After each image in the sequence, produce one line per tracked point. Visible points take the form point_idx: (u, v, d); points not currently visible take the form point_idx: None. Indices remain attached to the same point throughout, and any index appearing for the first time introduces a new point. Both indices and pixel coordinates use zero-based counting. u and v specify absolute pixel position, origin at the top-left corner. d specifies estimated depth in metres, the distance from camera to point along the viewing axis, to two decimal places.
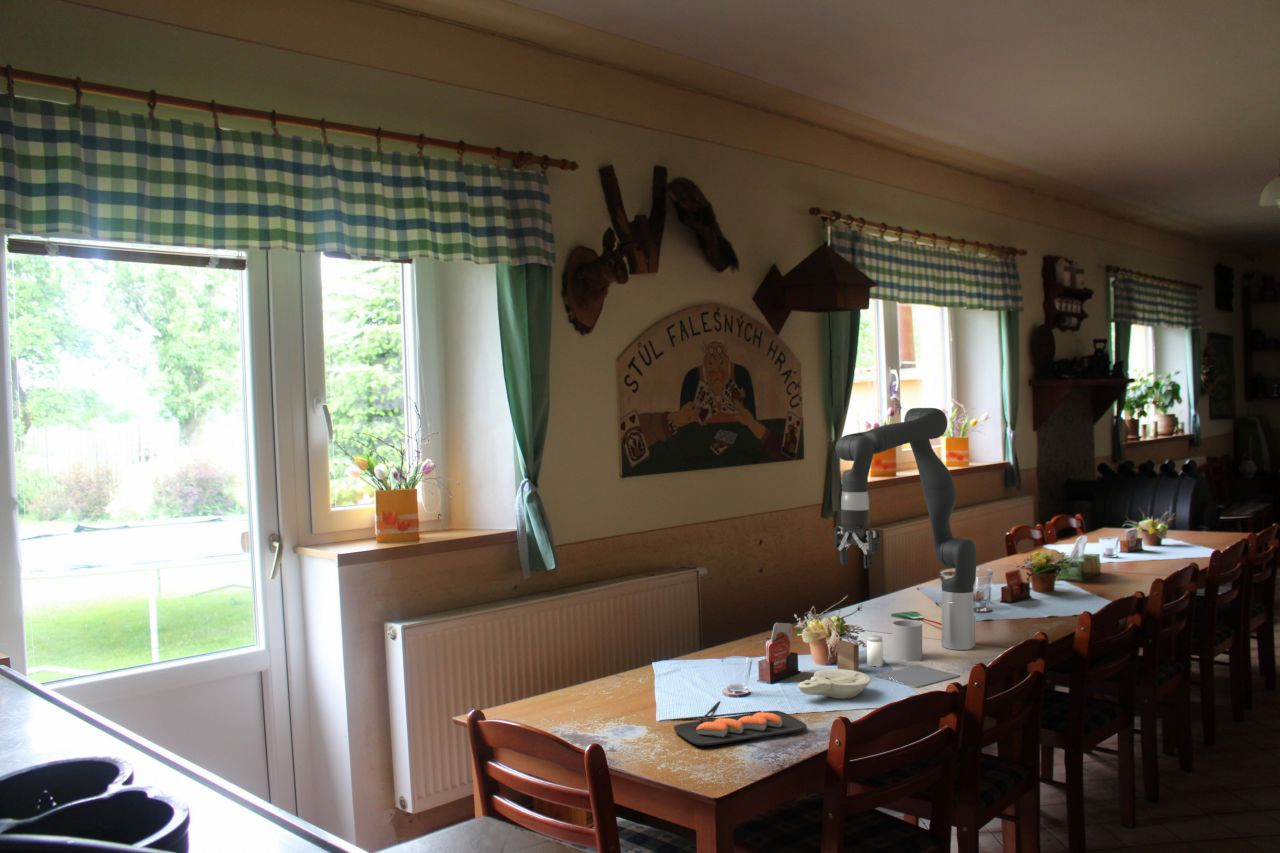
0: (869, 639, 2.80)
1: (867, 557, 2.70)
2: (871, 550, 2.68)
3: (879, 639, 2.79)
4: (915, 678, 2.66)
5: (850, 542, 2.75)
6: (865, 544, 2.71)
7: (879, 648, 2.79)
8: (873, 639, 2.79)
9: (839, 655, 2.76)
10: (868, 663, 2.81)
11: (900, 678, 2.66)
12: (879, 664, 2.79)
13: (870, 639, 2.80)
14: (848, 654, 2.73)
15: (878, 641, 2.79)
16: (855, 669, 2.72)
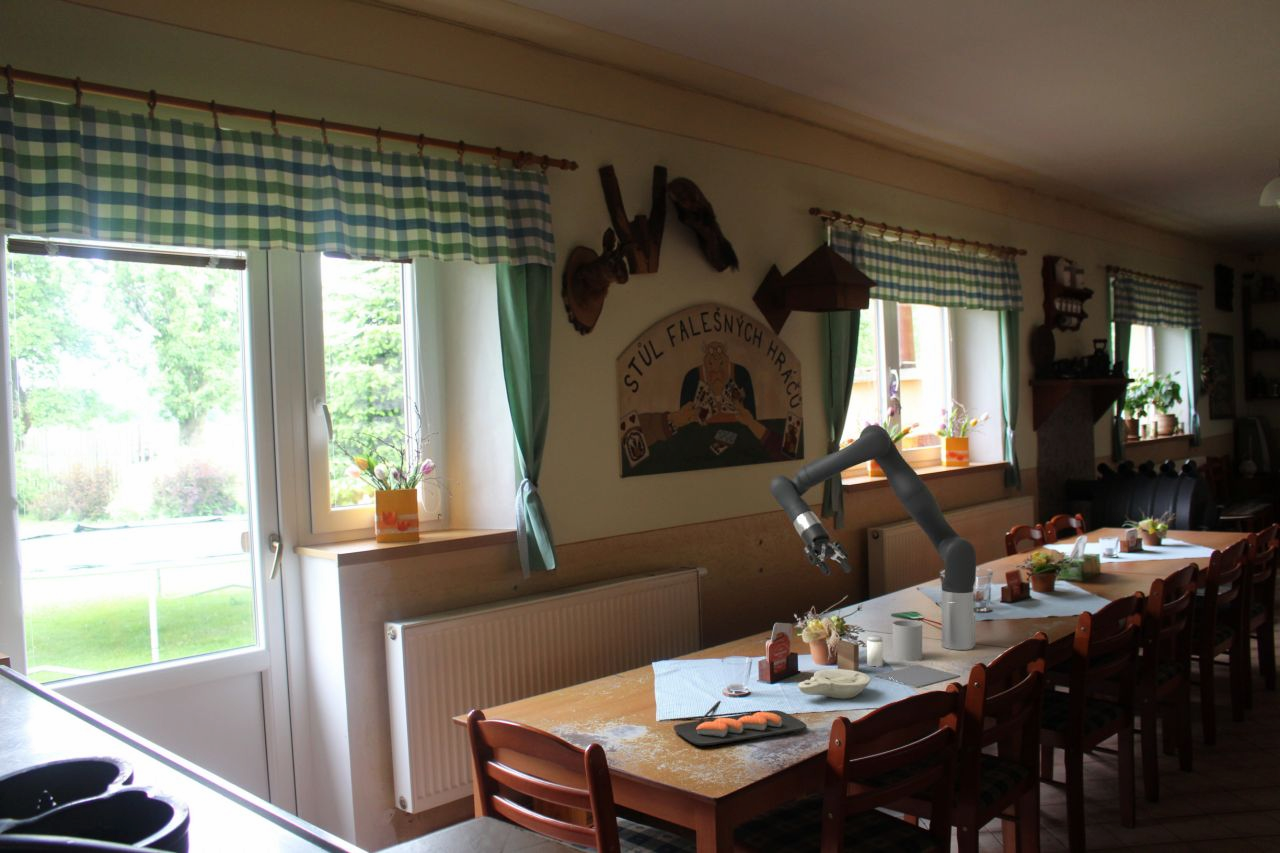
0: (869, 639, 2.80)
1: None
2: None
3: (879, 639, 2.79)
4: (915, 678, 2.66)
5: None
6: (818, 557, 2.93)
7: (879, 648, 2.79)
8: (873, 639, 2.79)
9: (839, 655, 2.76)
10: (868, 663, 2.81)
11: (900, 678, 2.66)
12: (879, 664, 2.79)
13: (870, 639, 2.80)
14: (848, 654, 2.74)
15: (878, 641, 2.79)
16: (855, 669, 2.72)
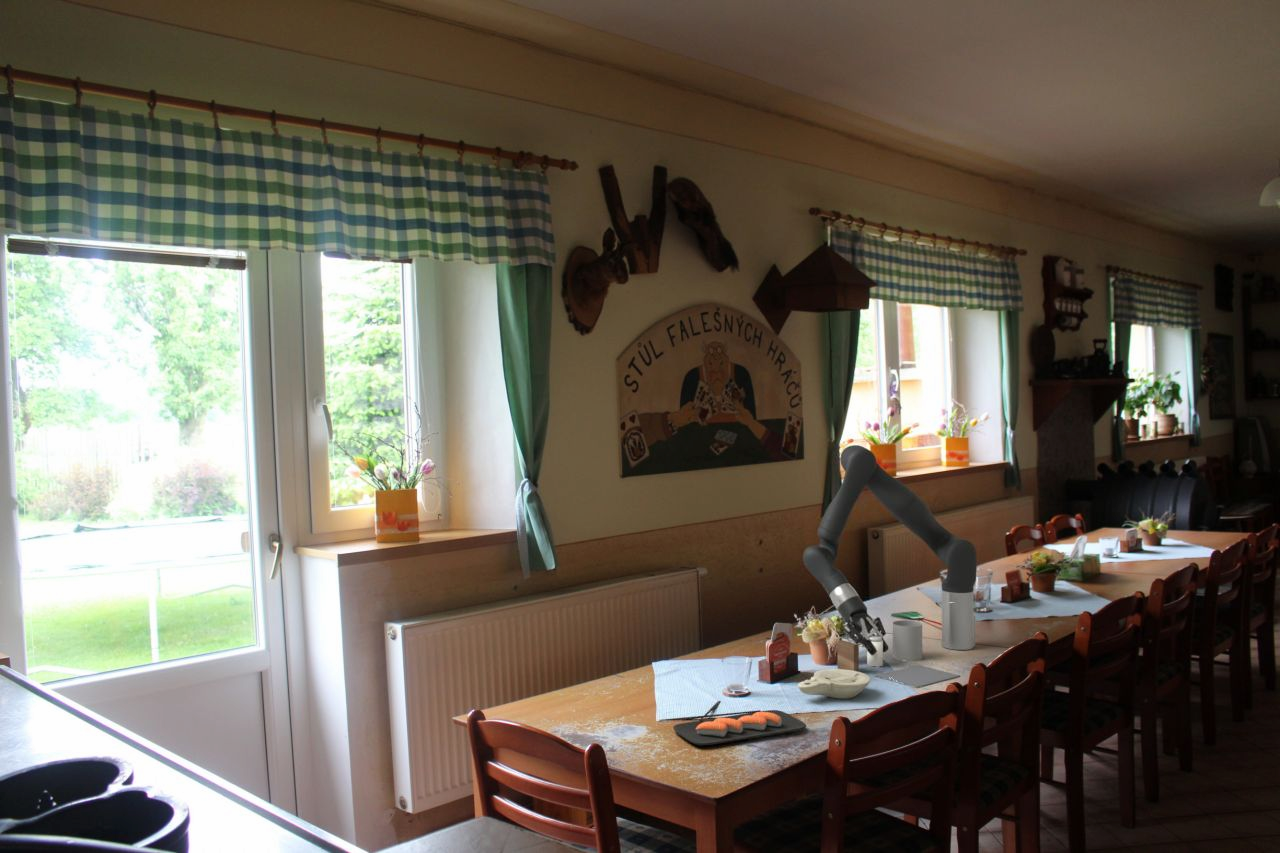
0: (869, 639, 2.80)
1: None
2: None
3: (879, 639, 2.79)
4: (915, 678, 2.66)
5: None
6: None
7: (879, 648, 2.79)
8: (873, 639, 2.79)
9: (839, 655, 2.76)
10: (868, 663, 2.81)
11: (900, 678, 2.66)
12: (879, 664, 2.79)
13: (870, 639, 2.80)
14: (848, 654, 2.73)
15: (878, 641, 2.79)
16: (855, 669, 2.72)
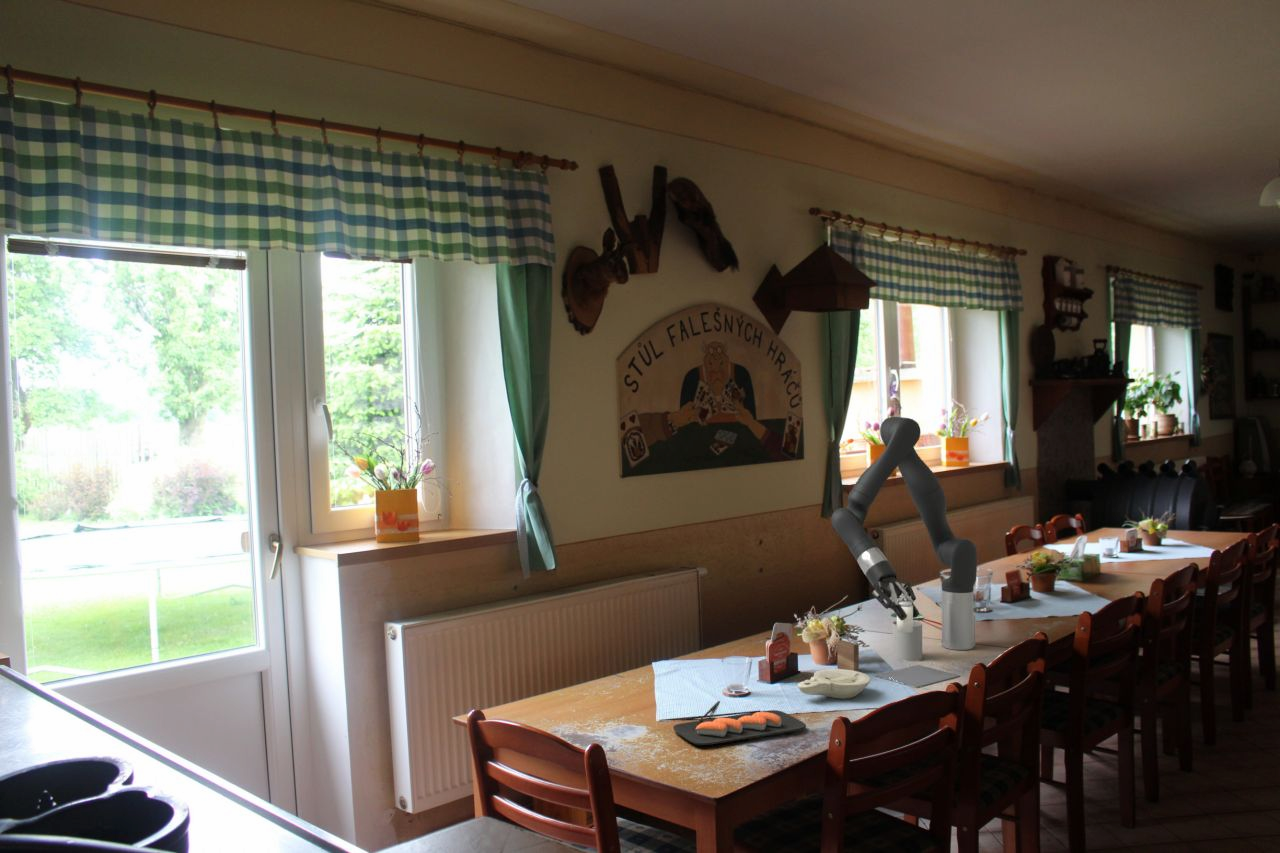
0: (899, 604, 2.71)
1: None
2: None
3: (909, 604, 2.70)
4: (915, 678, 2.66)
5: None
6: None
7: (909, 613, 2.70)
8: (903, 604, 2.70)
9: (839, 655, 2.76)
10: (898, 629, 2.72)
11: (900, 678, 2.66)
12: (909, 630, 2.70)
13: (900, 604, 2.71)
14: (848, 654, 2.74)
15: (908, 606, 2.70)
16: (855, 669, 2.72)
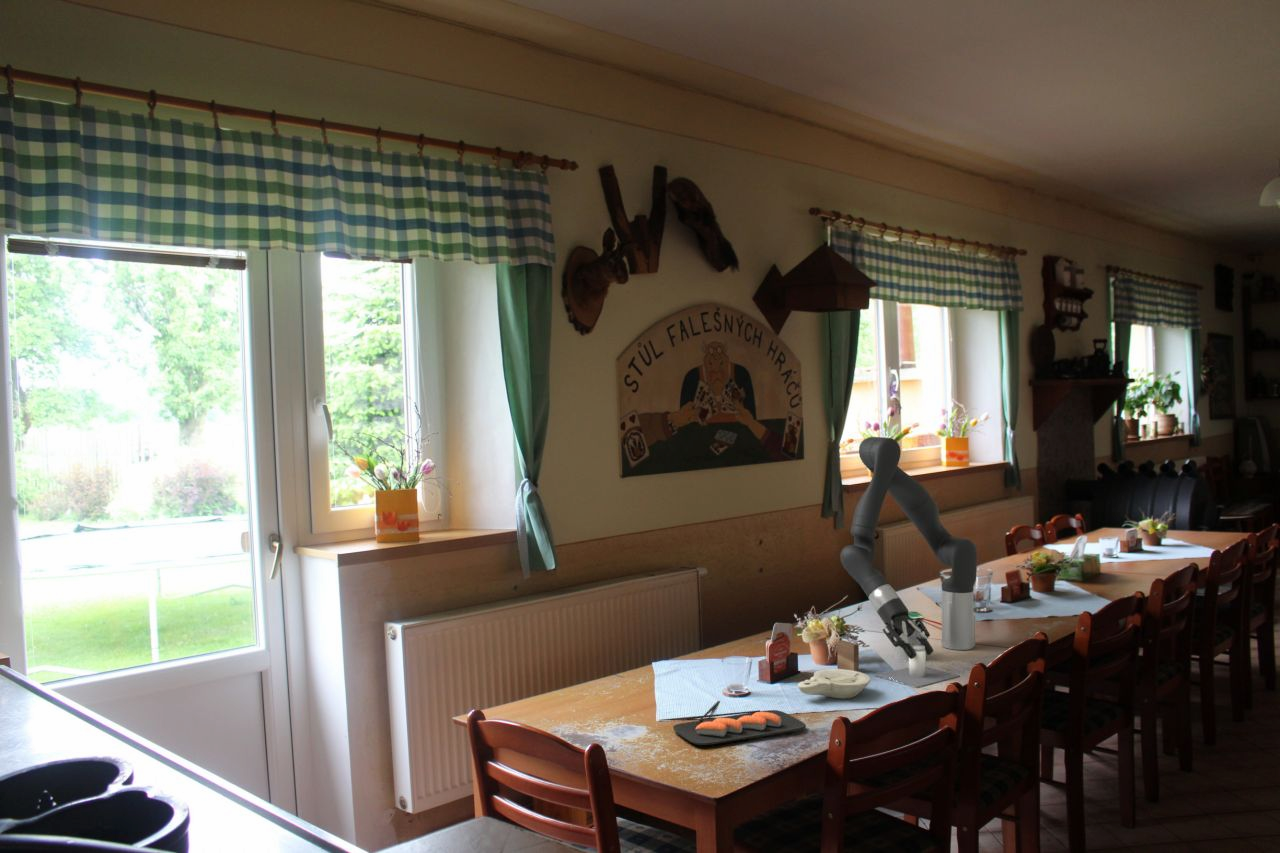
0: None
1: None
2: None
3: (922, 648, 2.67)
4: (915, 678, 2.66)
5: None
6: (899, 637, 2.69)
7: (922, 658, 2.67)
8: (916, 648, 2.67)
9: (839, 655, 2.76)
10: (910, 673, 2.68)
11: (900, 678, 2.66)
12: (922, 674, 2.67)
13: None
14: (848, 654, 2.74)
15: (921, 650, 2.67)
16: (855, 669, 2.72)
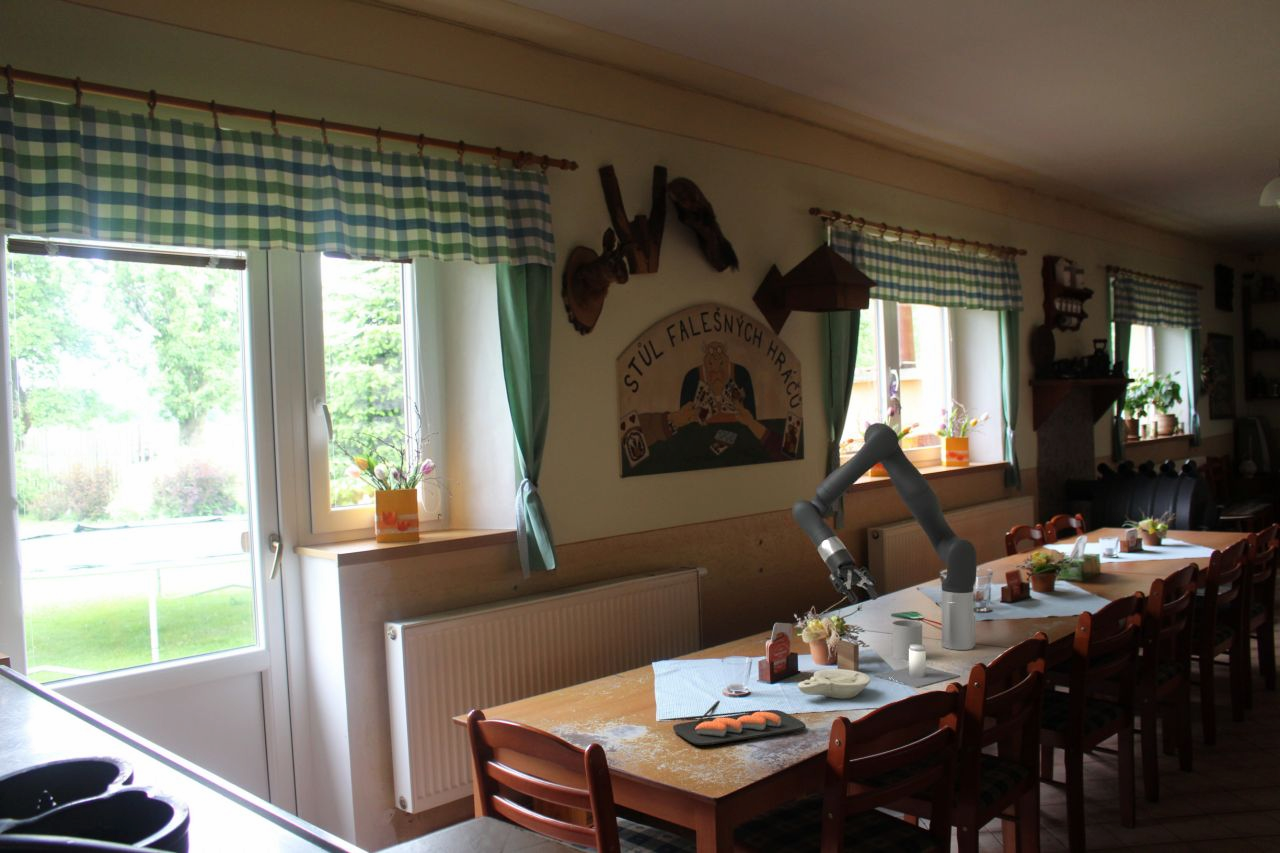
0: (911, 648, 2.68)
1: None
2: None
3: (922, 648, 2.67)
4: (915, 678, 2.66)
5: None
6: (844, 584, 2.85)
7: (922, 658, 2.67)
8: (916, 648, 2.67)
9: (839, 655, 2.76)
10: (910, 673, 2.68)
11: (900, 678, 2.66)
12: (922, 674, 2.67)
13: (913, 648, 2.68)
14: (848, 654, 2.73)
15: (921, 650, 2.67)
16: (855, 669, 2.72)
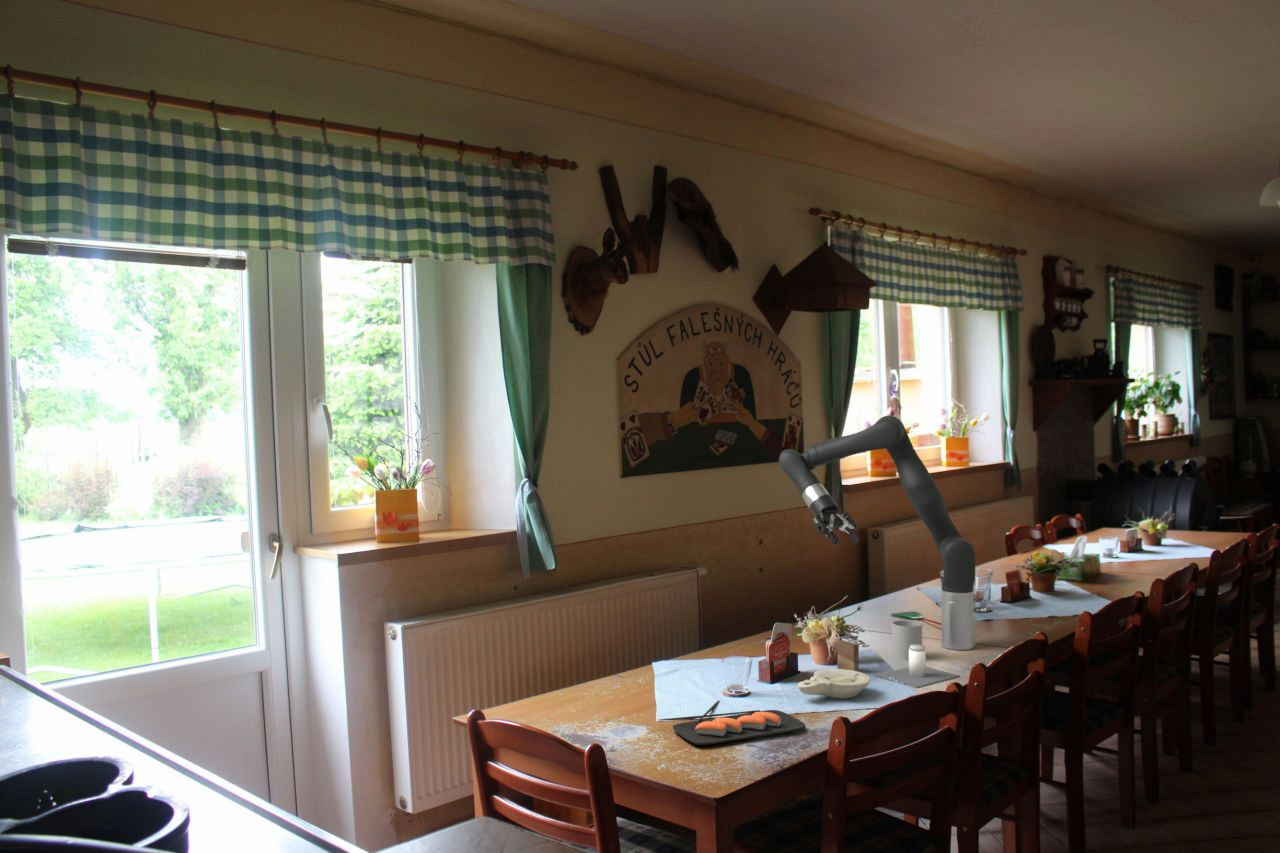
0: (911, 648, 2.68)
1: None
2: None
3: (922, 648, 2.67)
4: (915, 678, 2.66)
5: None
6: (826, 527, 2.98)
7: (922, 657, 2.67)
8: (916, 648, 2.67)
9: (839, 655, 2.76)
10: (910, 673, 2.68)
11: (900, 678, 2.66)
12: (922, 674, 2.67)
13: (913, 648, 2.68)
14: (848, 654, 2.74)
15: (921, 650, 2.67)
16: (855, 669, 2.72)
